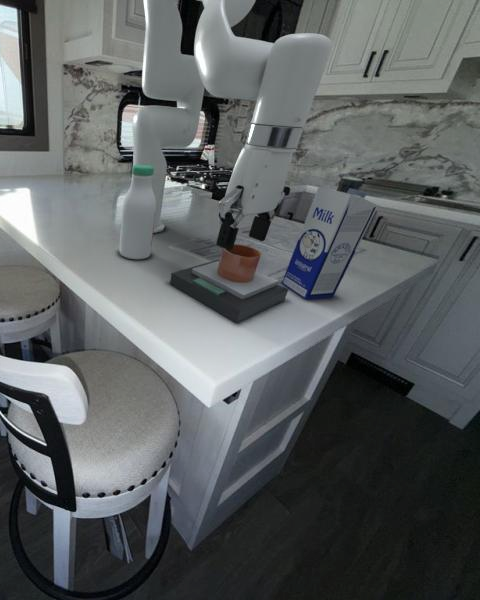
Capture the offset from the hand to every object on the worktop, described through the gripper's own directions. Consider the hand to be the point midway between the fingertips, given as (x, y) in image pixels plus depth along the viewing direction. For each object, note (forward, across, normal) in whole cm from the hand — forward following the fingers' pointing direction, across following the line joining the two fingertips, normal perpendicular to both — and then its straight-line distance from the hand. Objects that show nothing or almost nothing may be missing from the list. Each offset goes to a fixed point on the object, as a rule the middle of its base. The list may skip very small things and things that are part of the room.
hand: (240, 242), depth 57 cm
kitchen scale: (+10, +2, +1) cm, 10 cm away
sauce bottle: (+10, -32, +2) cm, 34 cm away
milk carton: (+10, -14, +9) cm, 19 cm away
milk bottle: (+10, +6, -23) cm, 26 cm away
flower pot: (+6, 0, +1) cm, 6 cm away
